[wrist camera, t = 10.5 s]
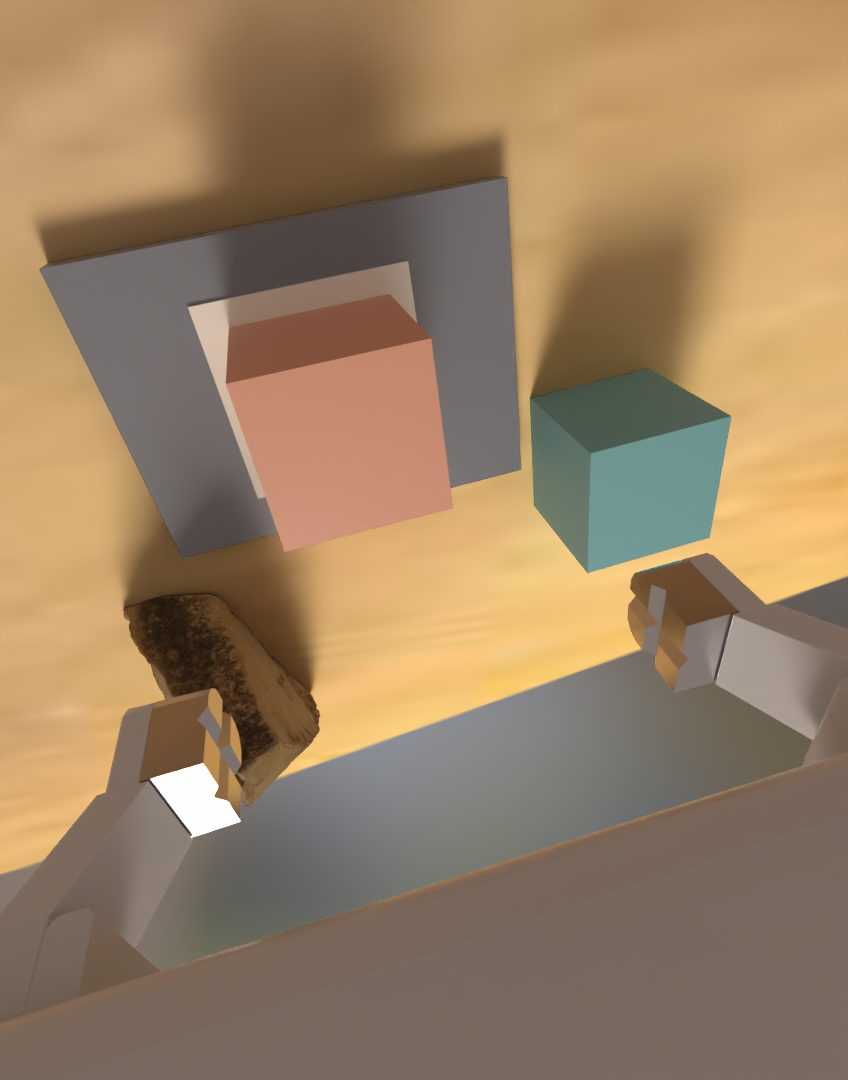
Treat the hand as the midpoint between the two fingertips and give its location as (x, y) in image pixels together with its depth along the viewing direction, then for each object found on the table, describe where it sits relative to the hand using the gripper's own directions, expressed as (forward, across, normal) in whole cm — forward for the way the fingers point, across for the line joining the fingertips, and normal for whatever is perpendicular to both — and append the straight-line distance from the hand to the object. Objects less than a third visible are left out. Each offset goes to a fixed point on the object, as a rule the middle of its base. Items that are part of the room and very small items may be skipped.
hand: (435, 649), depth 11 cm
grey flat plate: (+16, +1, 0) cm, 16 cm away
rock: (+16, +9, +14) cm, 23 cm away
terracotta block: (+15, +1, 0) cm, 15 cm away
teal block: (+16, -11, +6) cm, 21 cm away
